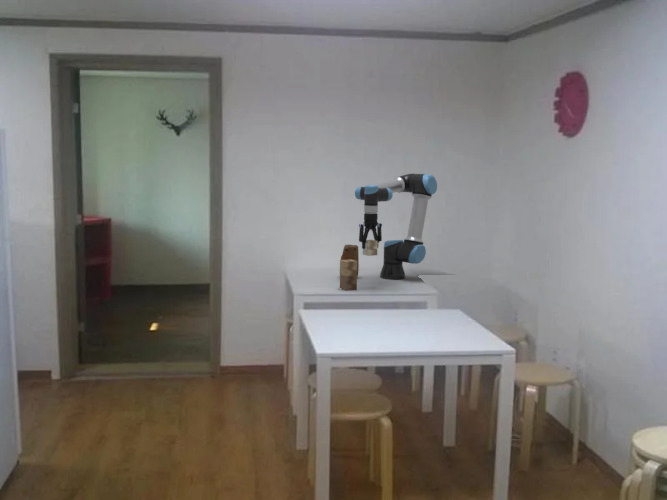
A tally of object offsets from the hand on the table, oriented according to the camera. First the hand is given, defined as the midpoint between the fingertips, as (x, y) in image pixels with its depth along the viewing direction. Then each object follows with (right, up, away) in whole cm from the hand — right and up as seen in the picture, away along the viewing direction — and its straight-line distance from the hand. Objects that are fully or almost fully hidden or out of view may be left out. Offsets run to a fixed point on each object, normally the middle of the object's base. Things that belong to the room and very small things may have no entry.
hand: (370, 254), depth 405 cm
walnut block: (-12, -19, -1) cm, 23 cm away
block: (-11, -15, +35) cm, 40 cm away
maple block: (0, 0, 0) cm, 0 cm away
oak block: (-12, -12, -3) cm, 17 cm away
